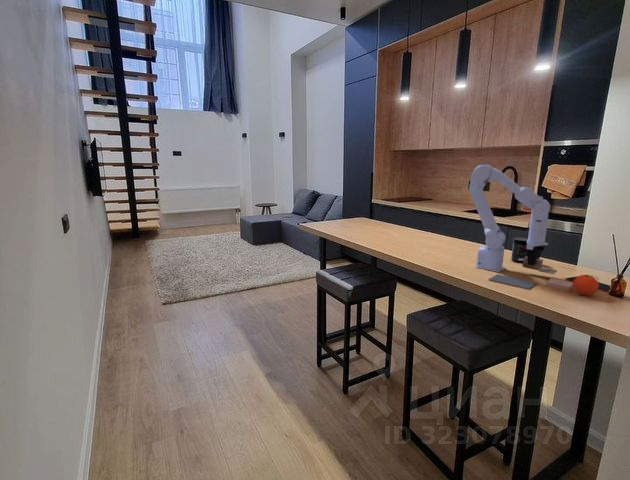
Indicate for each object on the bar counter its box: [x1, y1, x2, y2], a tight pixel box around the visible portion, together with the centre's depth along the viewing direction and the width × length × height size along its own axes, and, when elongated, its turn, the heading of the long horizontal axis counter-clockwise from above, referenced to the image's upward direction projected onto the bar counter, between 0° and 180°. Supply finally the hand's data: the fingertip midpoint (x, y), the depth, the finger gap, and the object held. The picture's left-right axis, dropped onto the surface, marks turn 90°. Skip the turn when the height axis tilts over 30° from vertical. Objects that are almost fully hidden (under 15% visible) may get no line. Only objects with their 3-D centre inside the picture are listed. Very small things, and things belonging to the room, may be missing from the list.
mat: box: [487, 274, 538, 291], centre depth 133 cm, size 14×9×1 cm, turn 43°
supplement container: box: [510, 237, 528, 264], centre depth 159 cm, size 7×7×10 cm
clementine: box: [573, 274, 600, 296], centre depth 119 cm, size 8×7×7 cm
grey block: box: [522, 256, 558, 275], centre depth 139 cm, size 11×4×4 cm, turn 43°
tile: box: [545, 277, 574, 292], centre depth 128 cm, size 2×7×7 cm
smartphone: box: [565, 275, 611, 293], centre depth 130 cm, size 7×1×15 cm
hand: (532, 264), depth 141 cm, fingers closed on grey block, 3 cm apart
